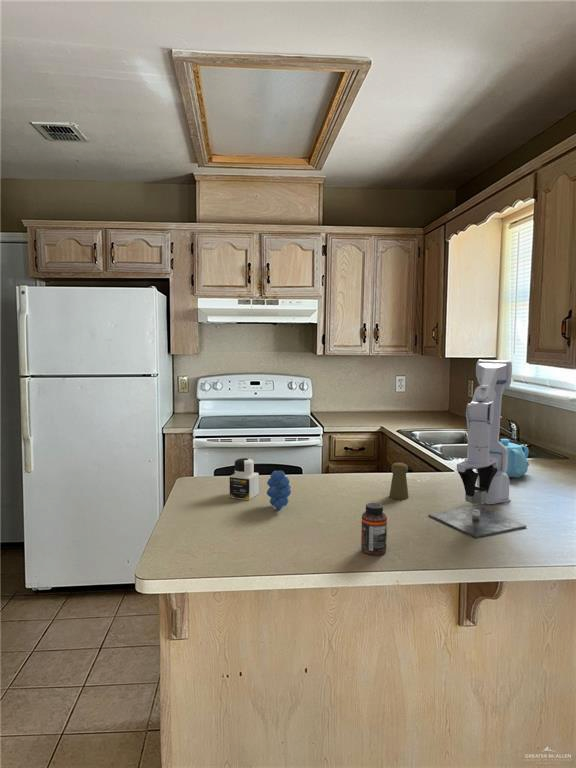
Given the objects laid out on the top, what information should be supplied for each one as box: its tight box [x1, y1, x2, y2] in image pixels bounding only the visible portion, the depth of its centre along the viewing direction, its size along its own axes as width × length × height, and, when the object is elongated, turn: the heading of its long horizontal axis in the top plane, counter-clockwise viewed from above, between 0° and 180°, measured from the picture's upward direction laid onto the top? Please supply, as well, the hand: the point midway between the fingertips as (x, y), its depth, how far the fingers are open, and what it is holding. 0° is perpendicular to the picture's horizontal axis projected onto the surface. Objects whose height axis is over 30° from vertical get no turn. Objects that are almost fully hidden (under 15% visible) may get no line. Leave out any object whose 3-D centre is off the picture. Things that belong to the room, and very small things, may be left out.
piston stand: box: [428, 505, 527, 539], centre depth 141 cm, size 18×18×3 cm
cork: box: [388, 462, 410, 501], centre depth 163 cm, size 6×6×11 cm
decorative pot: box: [490, 438, 530, 479], centre depth 190 cm, size 16×16×14 cm
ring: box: [464, 485, 486, 505], centre depth 141 cm, size 5×5×4 cm
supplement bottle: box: [360, 502, 388, 556], centre depth 121 cm, size 6×6×11 cm
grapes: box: [266, 470, 292, 510], centre depth 152 cm, size 12×7×12 cm, turn 31°
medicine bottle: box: [229, 457, 260, 501], centre depth 164 cm, size 7×7×12 cm
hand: (476, 494), depth 141 cm, fingers closed on ring, 5 cm apart
